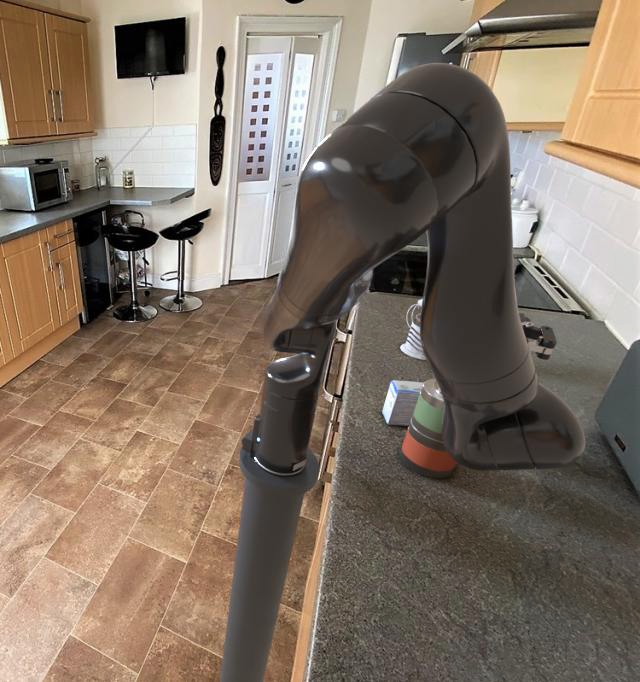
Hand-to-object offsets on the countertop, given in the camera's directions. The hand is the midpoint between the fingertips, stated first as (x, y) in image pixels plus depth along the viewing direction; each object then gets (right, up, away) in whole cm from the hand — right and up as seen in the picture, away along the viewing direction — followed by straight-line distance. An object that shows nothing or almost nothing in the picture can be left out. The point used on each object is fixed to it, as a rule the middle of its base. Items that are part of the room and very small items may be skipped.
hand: (481, 313), depth 67 cm
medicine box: (+4, -21, +25) cm, 33 cm away
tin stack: (+1, -27, +14) cm, 31 cm away
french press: (+25, -7, +51) cm, 57 cm away
